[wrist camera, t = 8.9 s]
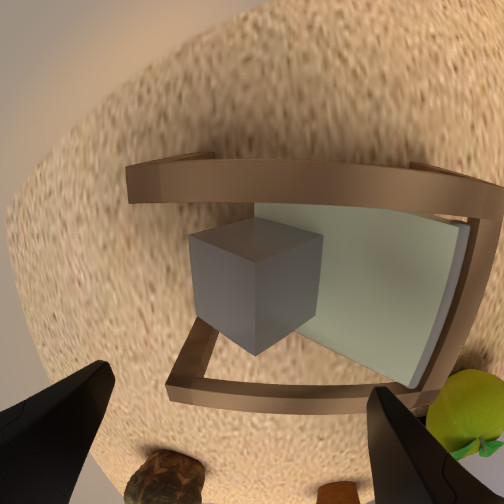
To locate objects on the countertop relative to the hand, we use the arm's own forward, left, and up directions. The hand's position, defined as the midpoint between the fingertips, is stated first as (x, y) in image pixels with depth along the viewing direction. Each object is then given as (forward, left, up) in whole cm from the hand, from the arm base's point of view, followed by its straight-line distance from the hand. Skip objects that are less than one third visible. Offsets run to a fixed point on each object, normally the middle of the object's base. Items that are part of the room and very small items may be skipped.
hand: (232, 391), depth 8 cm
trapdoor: (-5, 0, -9) cm, 10 cm away
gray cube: (-1, 0, -10) cm, 10 cm away
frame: (-3, 0, -12) cm, 13 cm away
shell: (+13, +35, -13) cm, 40 cm away
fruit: (-21, +14, -13) cm, 29 cm away
